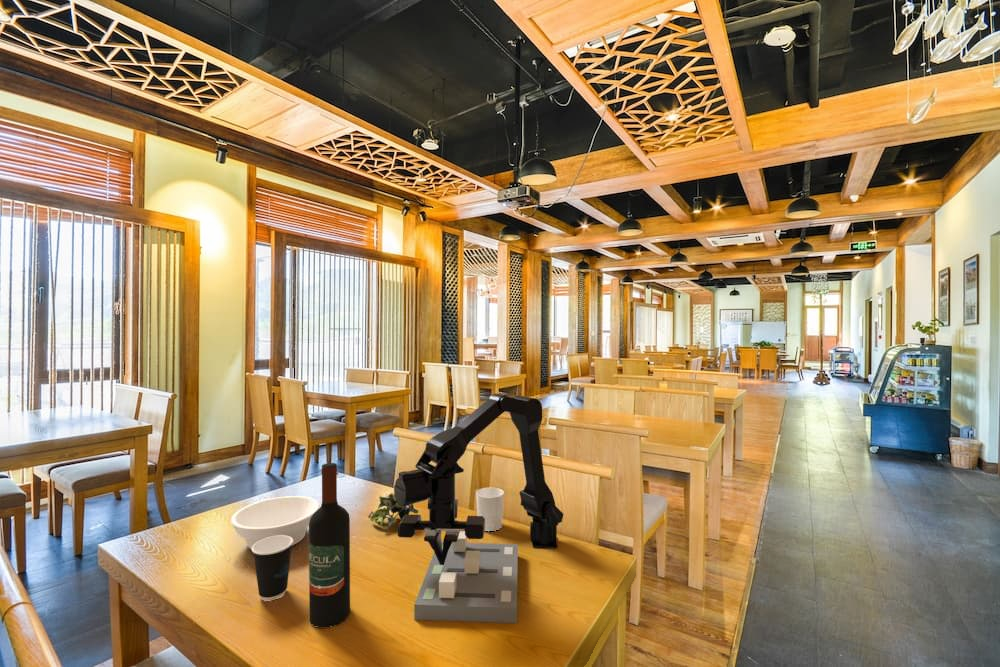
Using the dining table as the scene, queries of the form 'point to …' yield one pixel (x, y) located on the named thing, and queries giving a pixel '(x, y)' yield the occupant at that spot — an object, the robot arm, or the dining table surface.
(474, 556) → the block
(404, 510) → the green leafy clump
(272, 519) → the bowl
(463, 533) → the block
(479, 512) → the white cup
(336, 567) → the wine bottle
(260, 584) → the dixie cup
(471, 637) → the dining table surface
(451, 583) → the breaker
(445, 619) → the grey slider switch panel
